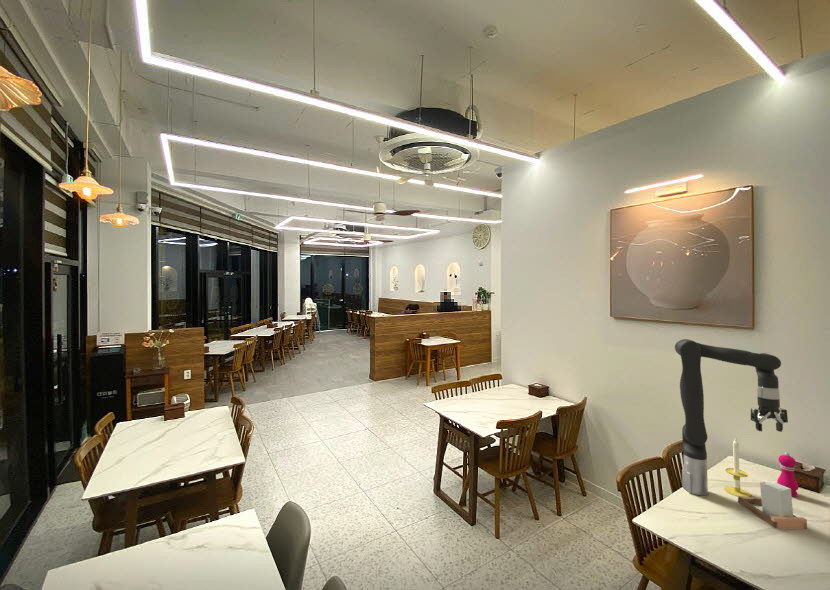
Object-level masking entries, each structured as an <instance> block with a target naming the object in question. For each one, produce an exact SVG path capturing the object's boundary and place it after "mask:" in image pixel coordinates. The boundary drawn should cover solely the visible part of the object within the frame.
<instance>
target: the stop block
mask: <svg viewBox="0 0 830 590" xmlns="http://www.w3.org/2000/svg"><path fill="white" fill-rule="evenodd" d="M771 520H772V521H773V522H774V523H776V522H777V525H778V528H776V527H775V526H776V525H775V526H774V527H775V528H774V527H773V528H774V529H789V530H790V529H791V530H807V529H808V519H807V518H805V517H803V516H802V517H799V516H798V517H797V516H796V517H777V516H771ZM805 523H807V524H806V525H805ZM806 526H807V527H806ZM804 528H805V529H804Z"/></svg>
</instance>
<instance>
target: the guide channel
mask: <svg viewBox="0 0 830 590" xmlns="http://www.w3.org/2000/svg"><path fill="white" fill-rule="evenodd" d="M737 503H738V504H740V505H741V506H742V507H744V508H746V509H747V510H748V511H750V512H751V513H752V514H754V515H755V516H756V517H758V518H760V519H761V520H763V522H765V523H767V524H768V525H769V526H770V527H772V528H773V529H779V528H778V525H777V522H776V523H774V522H773V521H772V520H771V517H769V516H768V515H766V514H765V513H763V512H762V510H760V509H759V508H758V507H756V506H755V505H760V506H762V500H761V497H738V496H737ZM793 517H797V516H796V515H795V514H793ZM806 524H807V526H806V527H807V528H808V522H807V523H805V525H806ZM775 525H776V526H775ZM774 526H775V527H776V528H775V527H774ZM803 530H806V529H805V528H804V529H803Z"/></svg>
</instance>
